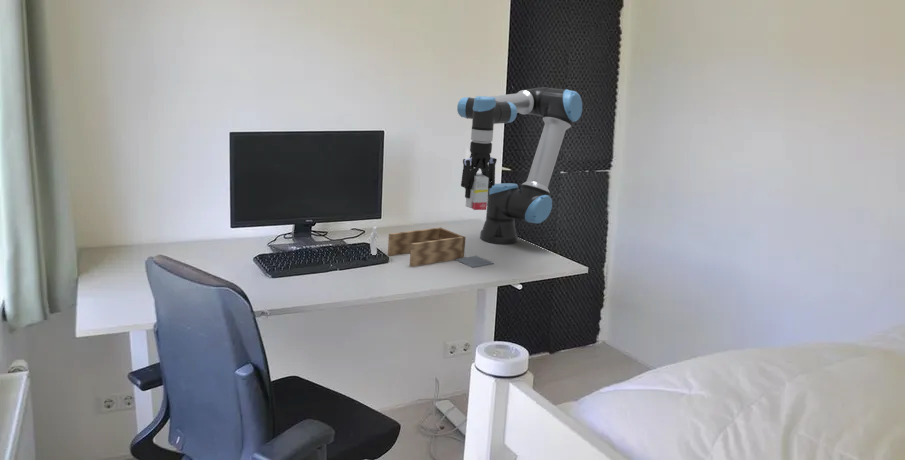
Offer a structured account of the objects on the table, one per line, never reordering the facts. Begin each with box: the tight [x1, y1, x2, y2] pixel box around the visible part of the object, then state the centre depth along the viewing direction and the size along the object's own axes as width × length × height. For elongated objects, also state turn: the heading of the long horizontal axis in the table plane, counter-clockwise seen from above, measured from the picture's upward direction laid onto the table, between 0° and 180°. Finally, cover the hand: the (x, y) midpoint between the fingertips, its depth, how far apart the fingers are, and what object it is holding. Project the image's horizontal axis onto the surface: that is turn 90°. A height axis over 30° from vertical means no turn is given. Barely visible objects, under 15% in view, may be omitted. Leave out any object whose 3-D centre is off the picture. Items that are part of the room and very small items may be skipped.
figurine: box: [364, 225, 380, 255], centre depth 252 cm, size 9×9×12 cm
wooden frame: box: [387, 226, 466, 267], centre depth 259 cm, size 24×15×8 cm, turn 129°
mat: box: [454, 255, 494, 269], centre depth 258 cm, size 10×10×1 cm
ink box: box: [471, 172, 489, 211], centre depth 251 cm, size 9×5×12 cm, turn 18°
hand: (476, 206), depth 253 cm, fingers closed on ink box, 6 cm apart
